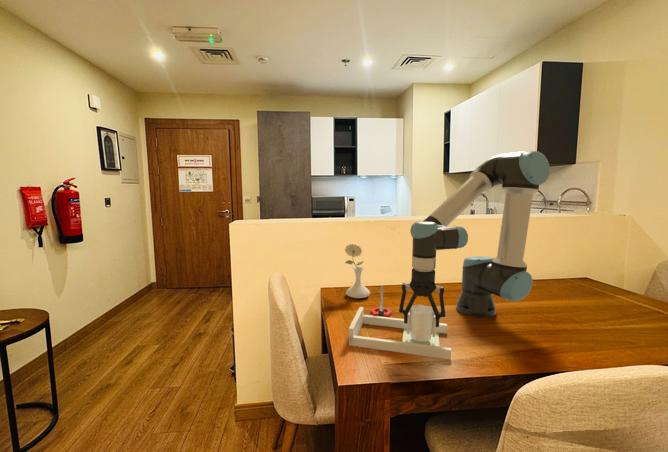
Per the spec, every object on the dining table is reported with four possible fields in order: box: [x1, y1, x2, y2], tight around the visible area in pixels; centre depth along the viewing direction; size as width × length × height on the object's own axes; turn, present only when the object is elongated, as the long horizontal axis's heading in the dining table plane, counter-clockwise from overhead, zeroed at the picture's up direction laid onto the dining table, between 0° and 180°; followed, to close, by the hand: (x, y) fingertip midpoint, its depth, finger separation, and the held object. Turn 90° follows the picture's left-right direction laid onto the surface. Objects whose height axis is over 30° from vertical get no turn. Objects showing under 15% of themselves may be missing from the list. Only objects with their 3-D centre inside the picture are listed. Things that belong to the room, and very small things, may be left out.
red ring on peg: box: [370, 285, 392, 318], centre depth 132 cm, size 8×13×9 cm
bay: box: [348, 306, 452, 361], centre depth 110 cm, size 32×19×6 cm, turn 74°
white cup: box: [409, 304, 435, 342], centre depth 108 cm, size 8×8×10 cm
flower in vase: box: [344, 243, 371, 299], centre depth 151 cm, size 13×11×25 cm
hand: (420, 333), depth 109 cm, fingers closed on white cup, 8 cm apart
